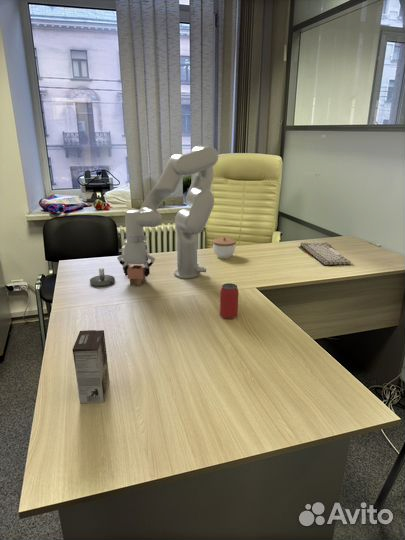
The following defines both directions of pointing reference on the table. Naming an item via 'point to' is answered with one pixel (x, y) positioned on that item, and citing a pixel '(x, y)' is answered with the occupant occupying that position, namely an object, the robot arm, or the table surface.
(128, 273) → the collar
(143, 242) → the robot arm
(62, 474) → the table surface
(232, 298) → the beer can
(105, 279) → the hub
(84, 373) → the coffee box
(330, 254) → the mechanical keyboard
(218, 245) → the lidded bowl
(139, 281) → the stand
